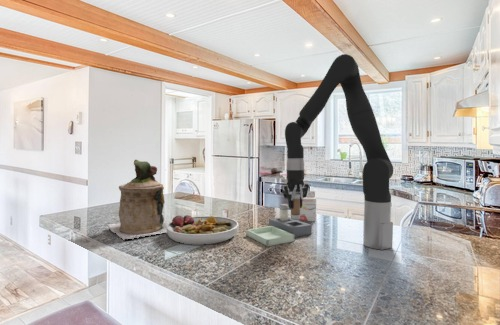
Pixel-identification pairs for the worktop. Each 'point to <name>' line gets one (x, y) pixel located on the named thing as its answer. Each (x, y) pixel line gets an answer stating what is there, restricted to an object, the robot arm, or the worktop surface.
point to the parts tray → (270, 235)
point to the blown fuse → (296, 207)
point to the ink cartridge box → (308, 207)
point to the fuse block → (292, 226)
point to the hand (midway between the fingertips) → (295, 207)
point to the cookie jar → (141, 205)
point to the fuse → (284, 212)
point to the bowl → (201, 229)
